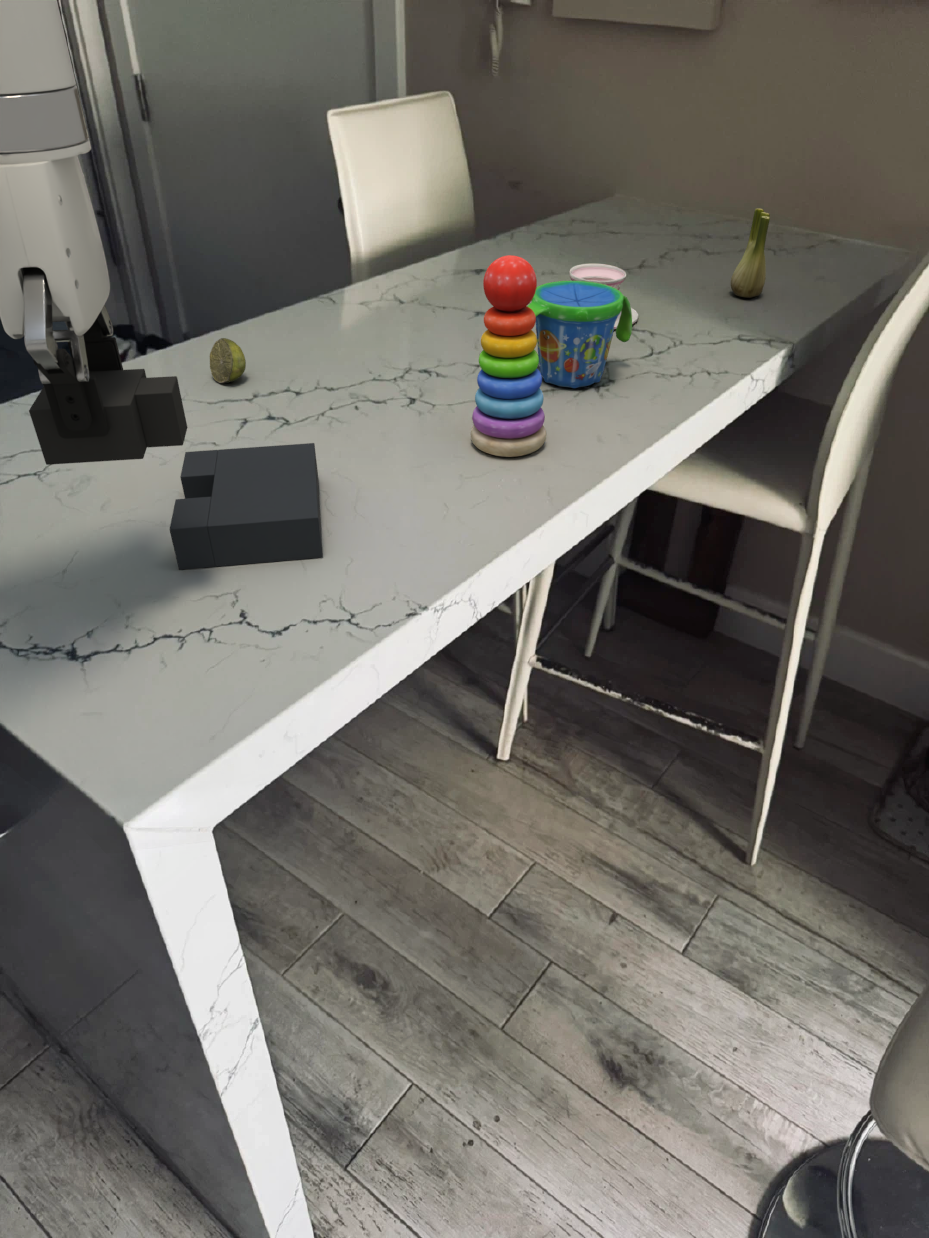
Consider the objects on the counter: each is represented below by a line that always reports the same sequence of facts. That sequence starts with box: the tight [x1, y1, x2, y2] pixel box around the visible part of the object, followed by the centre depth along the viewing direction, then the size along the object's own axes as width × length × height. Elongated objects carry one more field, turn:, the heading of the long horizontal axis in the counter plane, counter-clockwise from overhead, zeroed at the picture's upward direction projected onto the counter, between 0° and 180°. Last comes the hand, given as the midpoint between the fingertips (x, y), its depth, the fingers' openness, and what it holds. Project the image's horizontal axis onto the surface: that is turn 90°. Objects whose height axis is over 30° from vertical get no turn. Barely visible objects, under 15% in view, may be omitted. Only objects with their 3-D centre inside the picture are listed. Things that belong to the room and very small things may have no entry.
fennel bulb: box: [730, 207, 771, 298], centre depth 128 cm, size 6×5×12 cm
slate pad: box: [169, 442, 324, 571], centre depth 78 cm, size 12×14×4 cm
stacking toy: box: [470, 254, 547, 458], centre depth 86 cm, size 8×8×19 cm
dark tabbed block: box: [28, 368, 188, 466], centre depth 62 cm, size 9×6×4 cm
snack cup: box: [527, 280, 633, 389], centre depth 103 cm, size 16×10×10 cm
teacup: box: [568, 263, 639, 330], centre depth 122 cm, size 12×12×6 cm
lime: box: [209, 337, 247, 384], centre depth 104 cm, size 4×5×5 cm
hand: (95, 411), depth 62 cm, fingers closed on dark tabbed block, 6 cm apart
